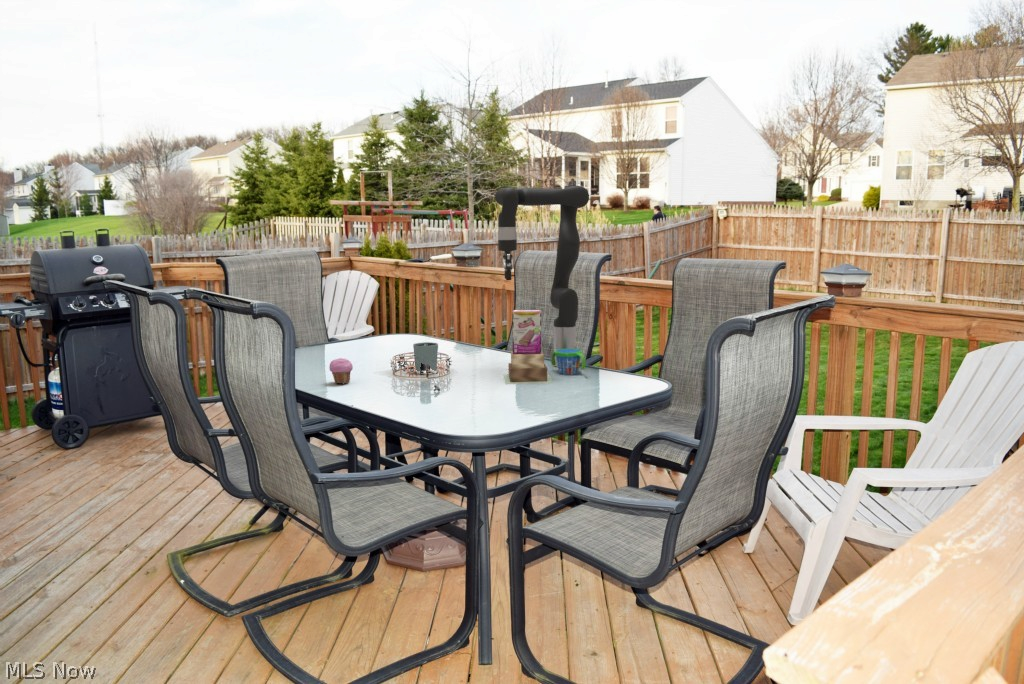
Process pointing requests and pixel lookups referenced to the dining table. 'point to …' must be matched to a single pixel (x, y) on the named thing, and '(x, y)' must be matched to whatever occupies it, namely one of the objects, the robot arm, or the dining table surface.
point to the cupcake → (341, 370)
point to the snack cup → (568, 361)
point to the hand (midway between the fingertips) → (508, 279)
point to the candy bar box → (527, 331)
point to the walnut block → (527, 374)
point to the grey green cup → (426, 355)
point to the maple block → (527, 360)
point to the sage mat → (507, 381)
